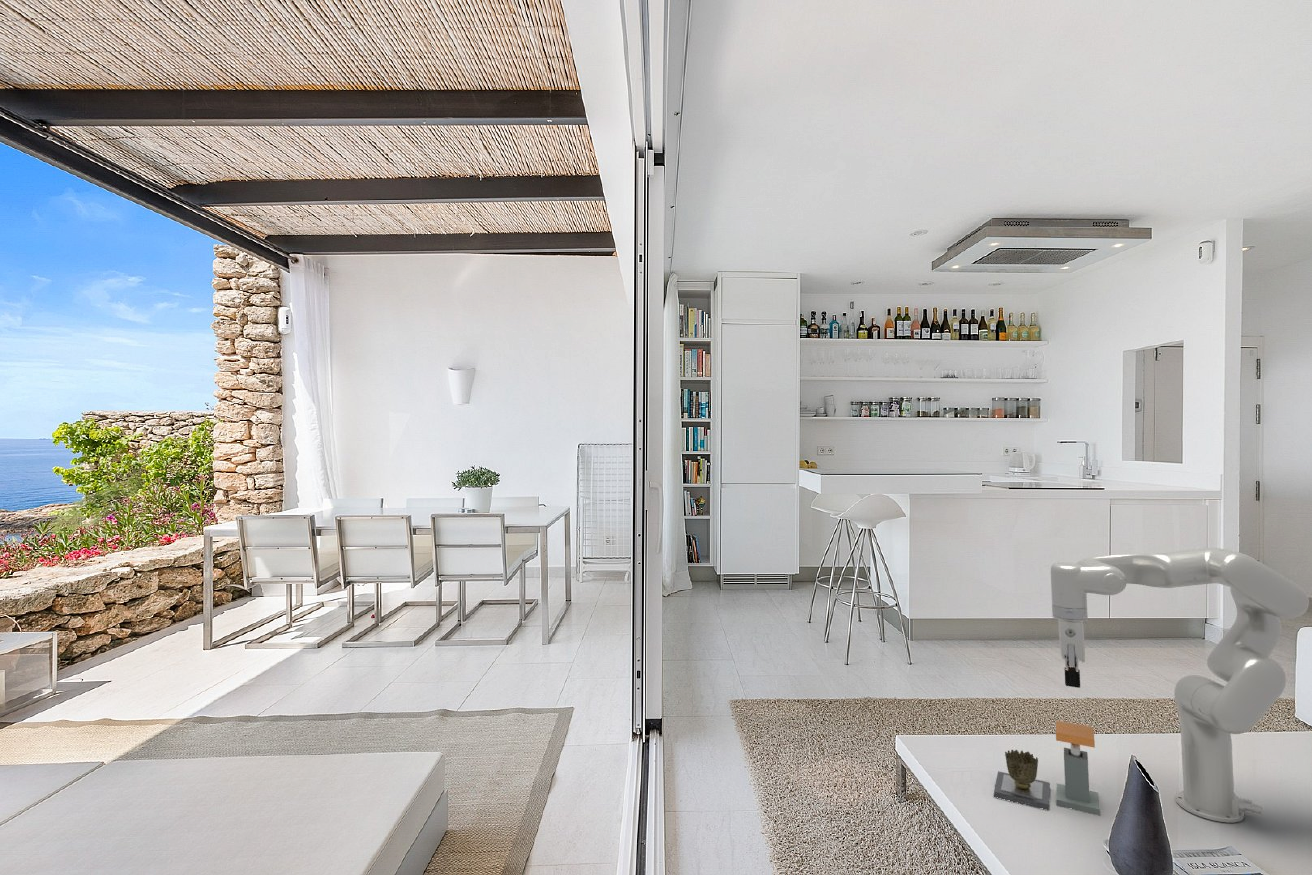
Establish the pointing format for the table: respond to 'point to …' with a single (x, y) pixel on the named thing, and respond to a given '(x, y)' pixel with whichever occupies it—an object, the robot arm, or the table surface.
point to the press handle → (1075, 736)
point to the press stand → (1077, 785)
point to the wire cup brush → (1022, 768)
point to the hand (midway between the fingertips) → (1072, 685)
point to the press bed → (1022, 791)
